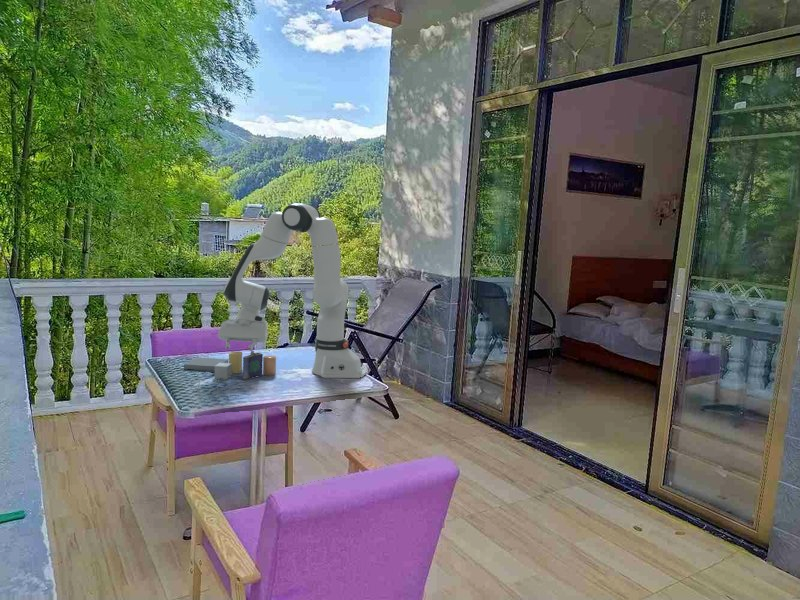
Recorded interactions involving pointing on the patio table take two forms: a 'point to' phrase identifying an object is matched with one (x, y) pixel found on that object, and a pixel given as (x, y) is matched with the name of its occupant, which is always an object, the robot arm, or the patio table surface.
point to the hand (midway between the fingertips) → (238, 348)
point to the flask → (252, 365)
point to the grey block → (223, 370)
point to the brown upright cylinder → (269, 365)
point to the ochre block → (236, 361)
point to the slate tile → (204, 363)
